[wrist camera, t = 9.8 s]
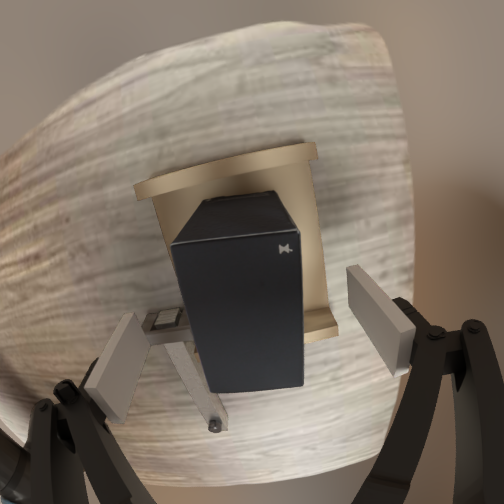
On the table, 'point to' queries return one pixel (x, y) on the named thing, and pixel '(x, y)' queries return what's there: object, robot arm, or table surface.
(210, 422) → the lock bolt
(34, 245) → the table surface
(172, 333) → the cradle
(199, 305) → the small box
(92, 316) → the table surface
